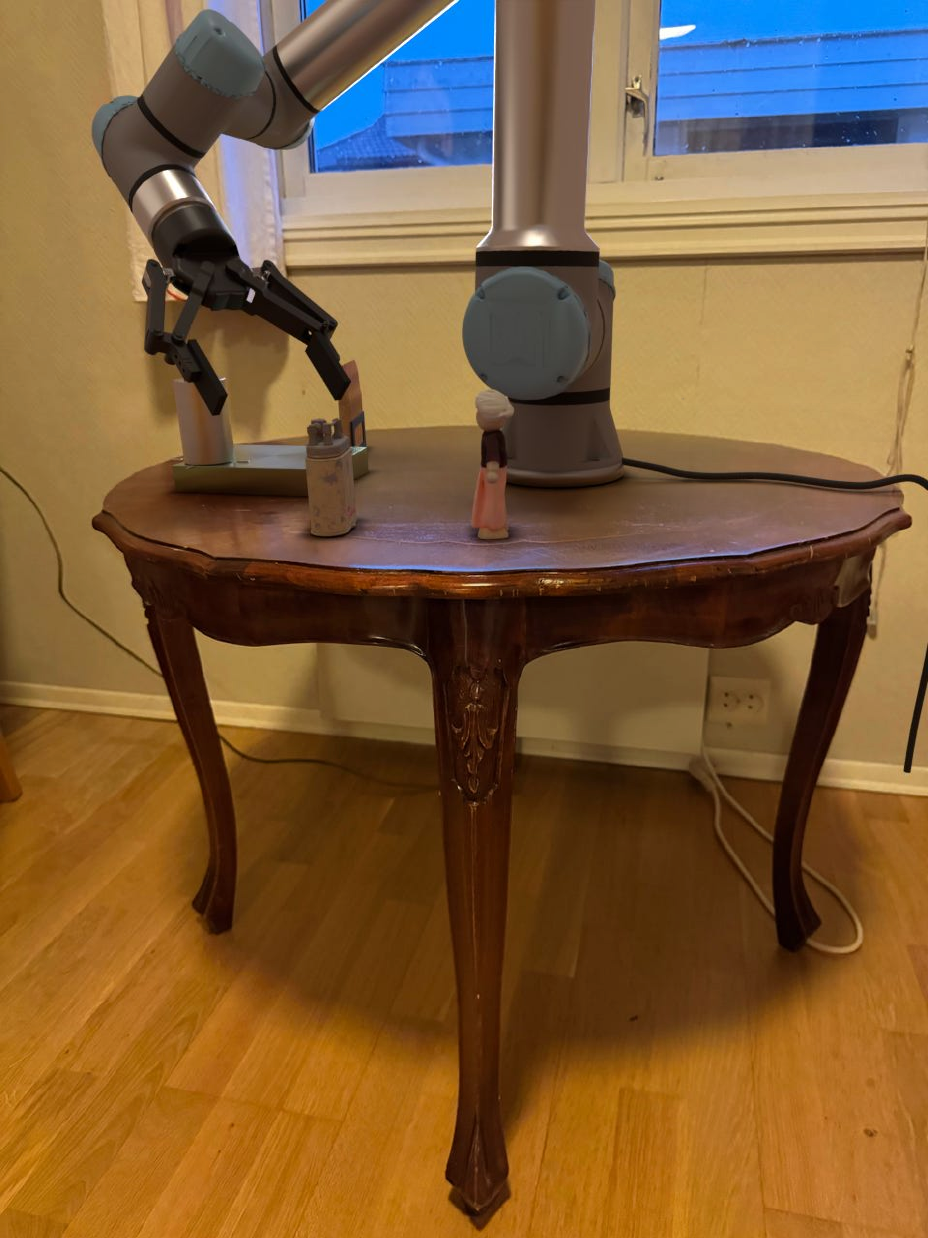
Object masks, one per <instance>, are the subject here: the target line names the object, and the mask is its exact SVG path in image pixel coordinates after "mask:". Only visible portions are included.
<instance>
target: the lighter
mask: <svg viewBox="0 0 928 1238" xmlns="http://www.w3.org/2000/svg"><path fill="white" fill-rule="evenodd" d="M341 424H342V423H341V419H339V417H336V418H333V419H332V422H328V421H327V420H326V419H325V418H313V419H311V420H310V424H309V425H308V426H307V427H306V433H307V435H308V443H307V444H306V445H305V446H306V452H307V457H306V458H305V461H306V473H307V484H308V496H309V497H308V496H307V497H308V505H309V517H310V528H311V529H310V534H312V535H314V536H318V537H333V536H340V535H341V536H342V535H345V534H347V533H349V531H350V530H351V529H354V528H356V527H357V523H356V522H357V521H358V517H357V511H356V499H355V498H356V497H355V483H354V481H355V480H353V466H352V451H351V449H350V448H349V438H348V437H347V436H344V434H342V433H341ZM332 427H333V428H332Z"/></svg>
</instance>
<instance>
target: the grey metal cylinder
mask: <svg viewBox="0 0 928 1238" xmlns="http://www.w3.org/2000/svg"><path fill="white" fill-rule="evenodd" d="M217 377H218V378H219V380H220V382H221V383H222V385H223V387H224V389H225V390H226V392H227V393H228V387H227V378H226V377H225V376H217ZM172 384H173V392H174V399H175V406H176V407H175V408H176V415H177V421H178V429H179V436H180V442H181V450H182V457H183V458H182V459H183V462H184V463H186V464H189V465H214V464H222V463H227V462H231V461H233V460H234V459H235V455H234V446H233V444H234V438H233V430H232V423H231V422H232V420H231V412H230V404H229V395H228V396H227V399H226V401H225V403H224V406H223V408H222V411H221V413H220V415H216V416H212V415H211V413H210V411H209V409H208V408H207V406H206V404H205V402H204V401H203V399H202V397H201V395H200V394H199V392H198V390H197V388H196V386H195V385H194V383H187V382H186V381H185V380H184V379H183V377H181V378H175V379H173V380H172Z"/></svg>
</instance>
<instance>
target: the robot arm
mask: <svg viewBox="0 0 928 1238" xmlns="http://www.w3.org/2000/svg"><path fill="white" fill-rule="evenodd" d="M458 1H459V0H325V1H324V2H323V3H322V4H320V5H319V6H318V7H317V8H316V9H315V10H314V11H313V12H311V13H310V14H309V15H308V16H307V17H306V18H305V19H303V20H302V21H301V22H300V23H299V24H298V25H297V26H295V28H293V29H292V30H291V31H290V32H289V33H287V35H285V36H284V37H283V38H282V39H281V40H280V41H279V42H278V43H277V44H275V45H274V46H273V47H272V48H270V49H269V51H267V52H266V53H265V54H263V55H262V54H261V52H260V51H259V49H258V48H257V47H256V46H255V44H254V43H253V41H252V40H251V39H250V38H249V37H248V36H247V35H246V34H245V33H244V32H243V30H241V28H239V27H238V26H237V25H236V24H234V23H233V22H232V21H231V20H229V19H228V18H227V17H226V16H225V15H224V14H222V13H221V12H219V11H217V10H214V9H210V8H206V9H203V10H201V11H199V12H198V13H197V15H196V16H195V17H194V18H193V19H192V21H190V23H189V24H188V26H187V27H186V29H184V30H183V31H182V33H179V35H178V36H177V38H176V40H175V43H174V44H173V45H172V47H171V48H170V50H169V52H167V55H166V56H165V57H164V59H163V61H162V63H161V64H160V65H159V66H158V68H157V70H156V71H155V73H154V74H153V76H152V77H151V79H150V81H149V82H148V83H147V85H146V86H145V88H144V90H143V91H142V93H141V94H140V96H135V95H129V94H127V95H125V94H124V95H119V96H116V97H114V98H113V99H112V100H111V101H110V102H107V103H103V104H102V105H101V106H100V107H99V108H98V109H97V111H96V112H95V114H94V116H93V119H92V121H91V122H92V123H91V140H92V143H93V146H94V147H95V150H96V152H97V154H98V156H99V158H100V161H101V164H102V167H103V169H104V171H105V172H106V174H107V176H108V177H109V178H110V179H111V180H112V182H113V183H114V185H115V186H116V188H117V190H118V192H119V194H120V195H121V197H122V199H124V201H125V203H126V204H127V206H128V208H129V210H130V213H132V215H133V217H134V219H135V221H136V223H137V224H138V226H139V228H140V230H141V231H142V233H143V235H144V237H145V239H146V241H147V242H148V243H149V245H150V247H151V249H152V250H153V252H154V255H155V256H156V258H157V260H156V259H155V258H148V259H147V260H146V264H145V267H144V271H143V275H142V278H141V284H142V287H143V290H144V292H145V294H146V310H145V311H146V312H145V326H144V328H145V329H144V343H143V351H144V352H145V353H146V354H147V355H150V356H156V355H158V353H160V354H164V357H163V360H164V362H165V363H166V364H167V365H170V366H175V367H176V368H177V370H178V372H179V374H180V375H181V378H183V379H184V380H185V381H186V382H187V383H194V385H195V386H196V388H197V390H198V392H199V394H200V395H201V397H202V399H203V401H204V402H205V404H206V406H207V408H208V409H209V411H210V413H211V415H212V416H216V415H220V413H221V411H222V408H223V406H224V403H225V401H226V399H227V396H228V397H229V394H228V391H227V392H226V390H225V389H224V387H223V385H222V383H221V382H220V380H219V378H218V377H219V376H218V375H217V373H216V371H215V369H214V368H213V366H212V365H211V363H210V361H209V359H208V357H207V356H206V354H205V352H204V351H203V349H202V347H201V345H200V343H199V341H198V340H197V339H196V338H192V339H189V338H188V337H189V335H190V333H191V330H192V328H193V326H194V323H195V321H196V319H197V317H198V315H199V313H200V310H201V309H202V307H203V308H206V309H209V310H210V312H219V311H222V310H227V311H242V312H244V313H245V314H247V315H249V316H250V317H254V316H258V317H260V318H261V319H263V320H265V321H266V322H268V323H269V324H271V325H273V326H274V327H276V328H277V329H279V330H281V331H283V332H284V333H286V334H288V335H289V336H291V337H292V338H294V339H296V340H298V341H299V342H300V343H303V345H304V344H305V346H306V347H305V350H304V353H305V354H306V356H307V357H308V359H309V360H310V362H311V363H312V366H313V367H314V369H315V370H316V372H317V374H318V375H319V377H320V378H321V380H322V383H324V386H325V387H326V389H327V391H328V392H329V393H330V395H331V397H332V398H333V400H334V401H335V402H336V401H338V400H341V399H342V397H343V396H344V394H345V392H346V390H347V388H348V387H349V385H350V383H351V380H350V379H349V377H348V375H347V374H346V372H345V371H344V369H343V367H342V364H341V363H340V362H341V356H340V354H339V353H338V351H337V349H336V348H335V346H334V344H333V342H332V340H331V339H332V338H333V336H334V333H335V332H336V330H337V328H338V325H339V322H338V320H336V319H335V318H334V316H332V315H331V314H329V313H328V312H327V311H326V310H325V309H324V308H323V307H321V306H320V305H319V304H317V302H315V301H314V300H313V299H312V298H311V297H309V296H308V295H307V294H305V292H303V291H302V290H301V289H299V288H298V287H297V286H296V285H295V284H294V283H292V282H291V281H290V280H289V279H288V278H286V276H284V275H283V274H282V272H281V271H280V270H279V269H278V267H277V265H276V264H275V263H274V262H273V261H271V260H270V259H264V260H263V261H262V264H261V266H256V267H251V266H249V265H248V264H247V263H246V262H244V261H243V259H242V258H241V255H240V254H239V249H238V245H237V242H236V240H235V237H234V236H233V234H232V233H231V231H230V229H229V228H228V226H227V224H226V223H225V221H224V220H223V218H222V217H221V215H220V214H219V211H218V210H217V207H215V205H214V203H213V201H212V199H211V198H210V196H209V195H208V193H207V192H206V190H205V189H204V187H203V185H202V184H201V182H200V180H199V179H198V178H197V175H196V173H195V171H194V169H195V168H196V167H197V165H199V163H200V161H201V160H202V159H203V158H204V157H205V156H206V155H207V154H208V152H209V151H210V149H212V147H213V146H214V145H215V143H216V142H217V140H218V139H219V138H220V136H221V135H224V136H228V137H231V138H235V139H239V140H243V141H246V142H249V143H251V144H255V145H257V146H259V147H262V148H264V149H269V150H272V151H274V150H275V151H276V150H277V151H279V150H282V151H289V150H294V149H296V148H298V147H300V146H302V145H303V144H304V143H305V142H306V141H307V140H308V139H309V137H310V135H311V133H312V131H313V127H314V125H315V120H316V116H317V115H318V114H320V113H321V112H322V111H324V110H325V109H326V108H327V107H328V106H330V105H332V103H334V102H335V101H336V100H337V99H339V98H340V97H341V96H342V95H343V94H345V92H347V91H348V90H350V89H351V88H352V87H353V86H354V85H356V84H357V83H358V82H360V81H361V80H362V79H363V78H364V77H366V76H367V75H368V74H369V73H371V72H372V71H373V70H374V69H376V68H377V67H378V66H379V65H380V64H382V63H383V62H384V61H386V60H387V59H389V57H390V56H392V54H394V53H395V52H396V51H398V50H399V49H400V48H401V47H403V46H404V45H405V44H407V42H409V41H410V40H411V39H412V38H414V37H415V36H416V35H417V34H419V33H420V32H421V31H422V30H424V29H425V28H426V27H427V26H429V25H430V24H431V23H432V22H434V21H435V20H436V19H437V18H438V17H440V16H441V15H442V14H443V13H445V12H446V11H447V10H449V9H450V8H451V7H452V6H453V5H455V4H456V3H458ZM595 20H596V0H494V38H493V39H494V42H493V43H494V44H493V49H494V50H493V51H494V52H493V108H492V109H493V110H492V111H493V116H492V118H493V119H492V121H493V122H492V183H491V184H492V189H491V190H492V192H491V193H492V194H491V196H492V197H491V198H492V199H491V227H490V230H489V232H488V234H486V236H485V237H484V238H483V239H482V240H481V241H480V242H479V244H478V245H477V246H476V247H475V261H474V262H475V264H474V265H475V266H474V268H475V269H474V293H472V295H471V297H470V299H469V301H468V303H467V306H466V309H465V312H464V314H463V319H462V325H461V326H462V329H461V333H462V334H461V337H462V345H463V346H462V347H463V350H464V354H465V356H466V358H467V361H468V363H469V366H470V367H471V369H472V371H473V372H474V373H475V375H476V376H477V377H478V378H479V380H480V381H481V382H482V383H483V384H484V385H485V386H487V387H488V388H489V389H493V390H496V391H498V392H500V393H502V394H503V395H504V396H505V397H507V398H508V400H509V402H510V404H511V405H512V407H513V408H514V414H513V415H512V416H511V417H510V418H506V420H505V424H504V426H503V427H502V428H501V429H500V430H501V431H502V433H503V435H504V437H505V444H506V451H507V467H506V483H509V484H514V485H519V486H528V487H541V488H542V487H543V488H573V487H587V486H593V485H594V486H595V485H601V484H606V483H610V482H613V481H616V480H618V479H620V478H622V477H623V476H624V467H625V466H626V467H632V468H638V469H641V470H648V471H653V472H656V473H660V474H665V475H669V476H673V477H678V478H681V479H690V480H702V481H733V480H734V481H735V480H737V481H738V480H761V481H763V480H764V481H775V482H776V481H779V482H787V483H794V484H801V485H808V486H815V487H821V488H829V489H838V490H839V489H840V490H854V491H866V490H872V489H873V490H874V489H879V488H883V487H888V486H891V485H894V484H900V483H908V482H909V483H914V484H917V485H919V486H921V487H922V488H923V489H925V490H926V491H928V479H927V478H925V477H924V476H922V475H918V474H913V473H903V474H896V475H892V476H889V477H883V478H880V479H879V478H878V479H875V480H869V481H847V480H836V479H834V480H833V479H826V478H819V477H813V476H812V477H811V476H805V475H799V474H789V473H780V472H768V471H766V472H765V471H734V472H732V471H731V472H704V471H703V472H702V471H691V470H685V469H684V470H683V469H679V468H678V469H677V468H674V467H669V466H666V465H662V464H657V463H652V462H649V461H642V460H637V459H632V458H627V457H624V453H623V450H622V446H621V443H620V439H619V435H618V431H617V429H616V424H615V422H614V418H613V414H612V410H611V386H612V384H611V382H612V354H613V353H612V352H613V326H614V325H613V324H614V323H613V322H614V321H613V318H614V302H615V299H616V297H617V296H616V295H617V290H616V286H615V274H614V271H613V268H612V266H611V265H610V264H609V263H607V262H606V261H603V260H601V259H600V256H601V255H600V254H601V248H600V247H599V245H597V243H596V242H595V241H594V240H593V239H592V237H591V236H590V235H589V234H588V232H587V229H586V228H585V226H586V225H585V224H586V207H587V204H586V203H587V184H588V183H587V182H588V166H589V165H588V163H589V143H590V124H591V101H592V82H593V81H592V80H593V63H594V62H593V60H594V44H595V43H594V39H595V22H596V21H595ZM170 284H171V285H172V287H174V289H176V290H177V291H179V293H181V294H184V295H185V296H187V298H186V300H185V302H184V305H183V307H182V309H181V311H180V313H179V315H178V318H177V320H176V323H175V325H174V327H173V329H172V332H169V331H168V332H167V331H165V320H166V319H165V316H166V297H167V291H168V290H169V287H170ZM251 290H252V291H253V292H254V295H253V298H252V299H251V301H249V300H248V298H249V295H250V291H251ZM925 650H926V651H925V656H924V660H923V665H922V670H921V674H920V675H921V676H920V679H919V684H918V688H917V694H916V697H915V698H916V699H915V703H914V708H913V713H912V717H911V723H910V728H909V732H908V739H907V743H906V749H905V756H904V762H903V768H902V769H903V770H902V772H904V773H905V774H910V773H911V772H912V766H913V760H914V754H915V753H914V752H915V748H916V742H917V737H918V731H919V725H920V721H921V716H922V711H923V707H924V702H925V696H926V692H927V688H928V643H927V645H926V649H925ZM911 774H912V773H911Z"/></svg>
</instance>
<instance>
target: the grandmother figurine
mask: <svg viewBox="0 0 928 1238" xmlns="http://www.w3.org/2000/svg"><path fill="white" fill-rule="evenodd" d="M474 403H475V408H476V409H477V411H476V413H475V420H476V424H477V426H478V427H479V428H480V429H481V430H482V431H483V432H482V433H481V440H480V456H481V457H480V468H479V472H478V476H477V480H476V486H475V491H474V497H473V502H472V511H471V522H470V523H471V527H472V528H474V529H475V528H476V529H479V530H478V533H477V538H478V539H481V540H502V539H506V538H509V536H510V535H509V530H510V527H509V525H508V524H507V522H506V520H507V505H506V499H505V490H506V486H507V485H506V484H507V482H506V467H507V451H506V444H505V437H504V435H503V433H502V431H501V428H502V427H503V426H504V424H505V420H506V418H510V417H511V416H512V415H513V414H514V408H513V407H512V405H511V404H510V402H509V400H508V398H507V397H506V396H504V395H503V394H502V393H500V392H498V391H496V390H493V389H491V388H489V389H484V390H481V391H480V392H479V393H478V394H477V395H476V397H475V401H474Z"/></svg>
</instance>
